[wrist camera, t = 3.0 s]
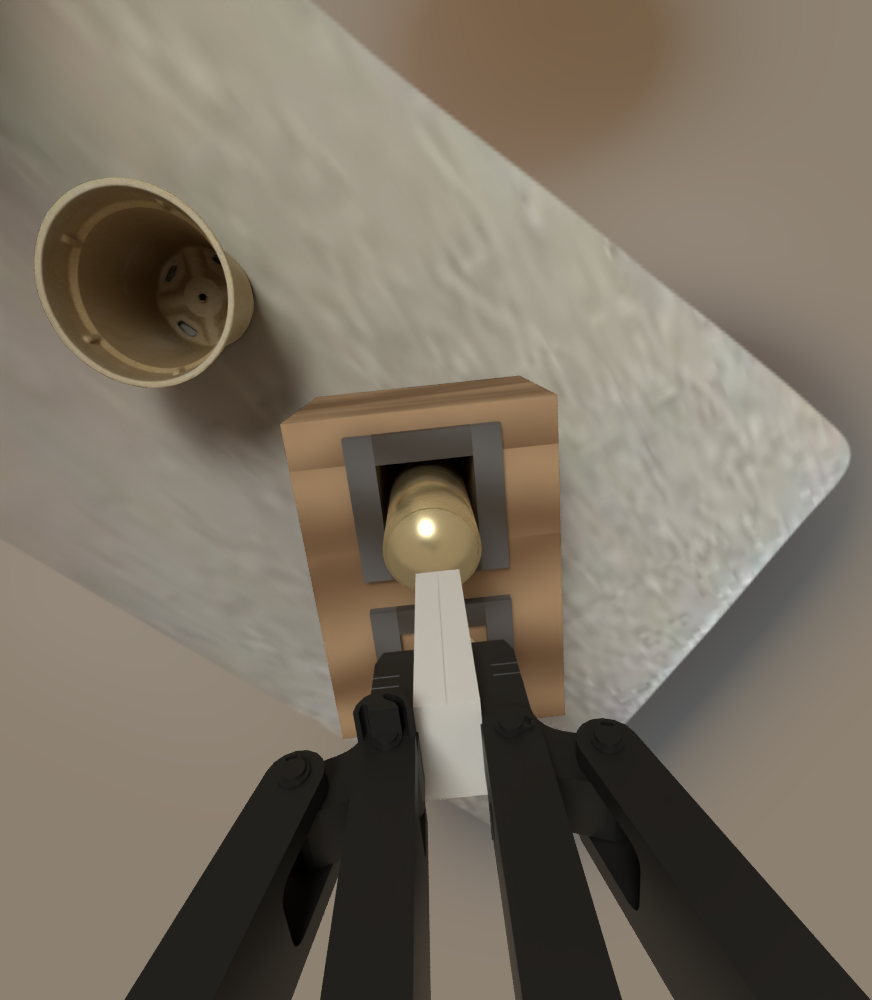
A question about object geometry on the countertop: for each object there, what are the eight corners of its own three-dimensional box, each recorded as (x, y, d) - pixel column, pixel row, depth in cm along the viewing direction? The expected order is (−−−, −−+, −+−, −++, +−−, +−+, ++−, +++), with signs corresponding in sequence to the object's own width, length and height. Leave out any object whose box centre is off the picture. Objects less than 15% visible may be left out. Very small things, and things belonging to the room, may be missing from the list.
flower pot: (126, 355, 34) (34, 365, 26) (131, 197, 31) (29, 152, 23) (269, 386, 35) (225, 405, 27) (287, 236, 32) (243, 206, 24)
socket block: (316, 397, 35) (276, 426, 25) (519, 375, 35) (560, 396, 25) (359, 644, 42) (341, 746, 32) (531, 626, 42) (567, 721, 32)
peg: (386, 459, 29) (375, 510, 21) (461, 451, 29) (478, 499, 21) (396, 529, 30) (389, 600, 22) (467, 521, 30) (485, 590, 22)
